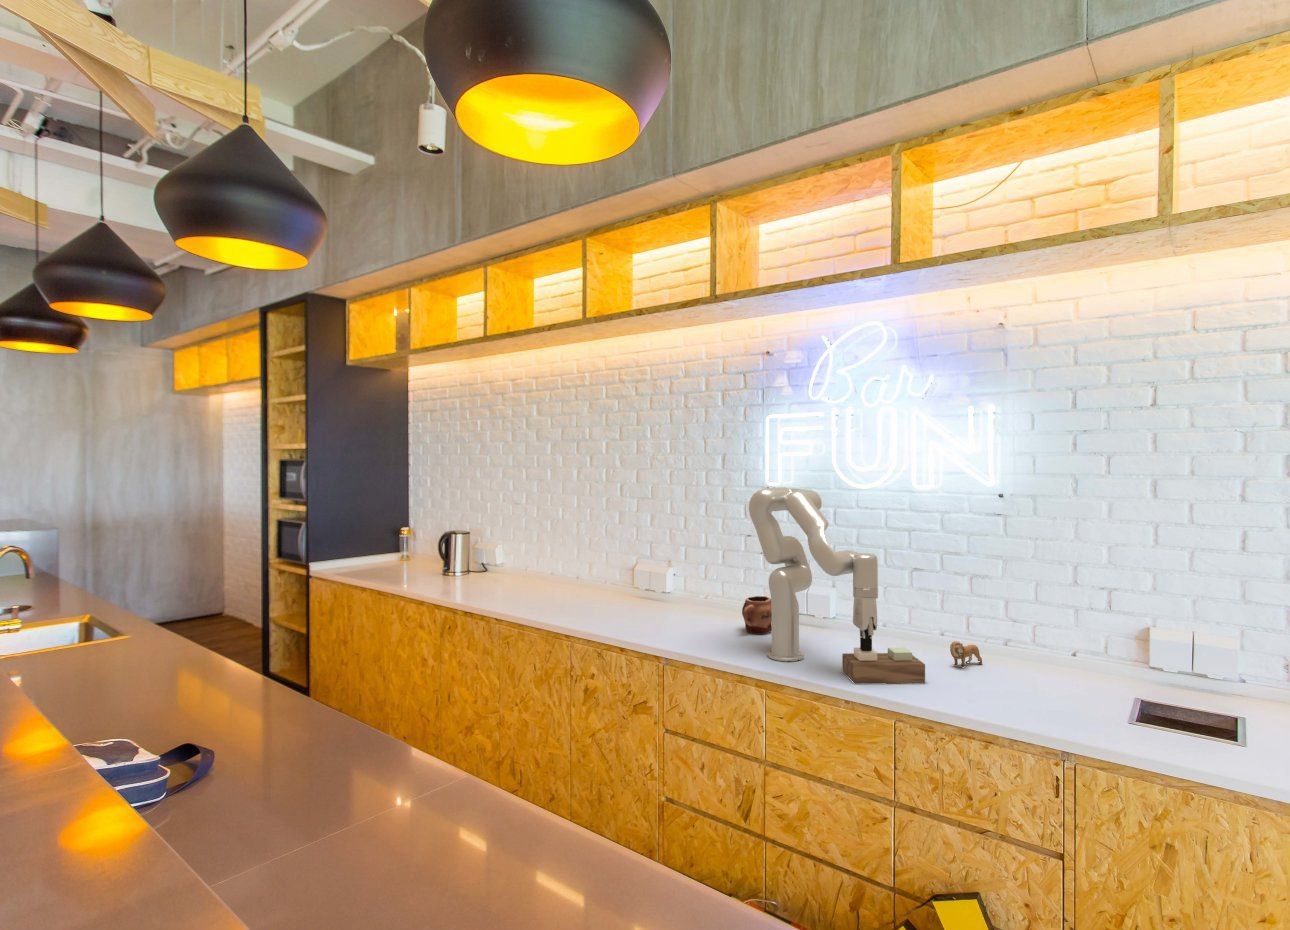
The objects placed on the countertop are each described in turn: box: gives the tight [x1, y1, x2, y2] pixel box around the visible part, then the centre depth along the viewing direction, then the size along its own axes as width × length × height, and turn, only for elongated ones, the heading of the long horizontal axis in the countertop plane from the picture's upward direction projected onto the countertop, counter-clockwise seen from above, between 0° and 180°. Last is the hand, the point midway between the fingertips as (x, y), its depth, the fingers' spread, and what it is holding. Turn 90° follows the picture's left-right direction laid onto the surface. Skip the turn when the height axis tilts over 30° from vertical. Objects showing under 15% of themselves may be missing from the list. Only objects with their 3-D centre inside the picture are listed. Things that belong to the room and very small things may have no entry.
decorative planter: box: [741, 595, 772, 635], centre depth 267 cm, size 20×12×14 cm, turn 145°
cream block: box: [853, 647, 878, 661], centre depth 211 cm, size 6×6×7 cm
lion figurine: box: [949, 640, 983, 667], centre depth 223 cm, size 15×5×9 cm, turn 122°
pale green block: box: [887, 646, 913, 661], centre depth 211 cm, size 6×6×7 cm
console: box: [841, 652, 926, 685], centre depth 211 cm, size 12×22×6 cm, turn 90°
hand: (866, 650), depth 211 cm, fingers closed
